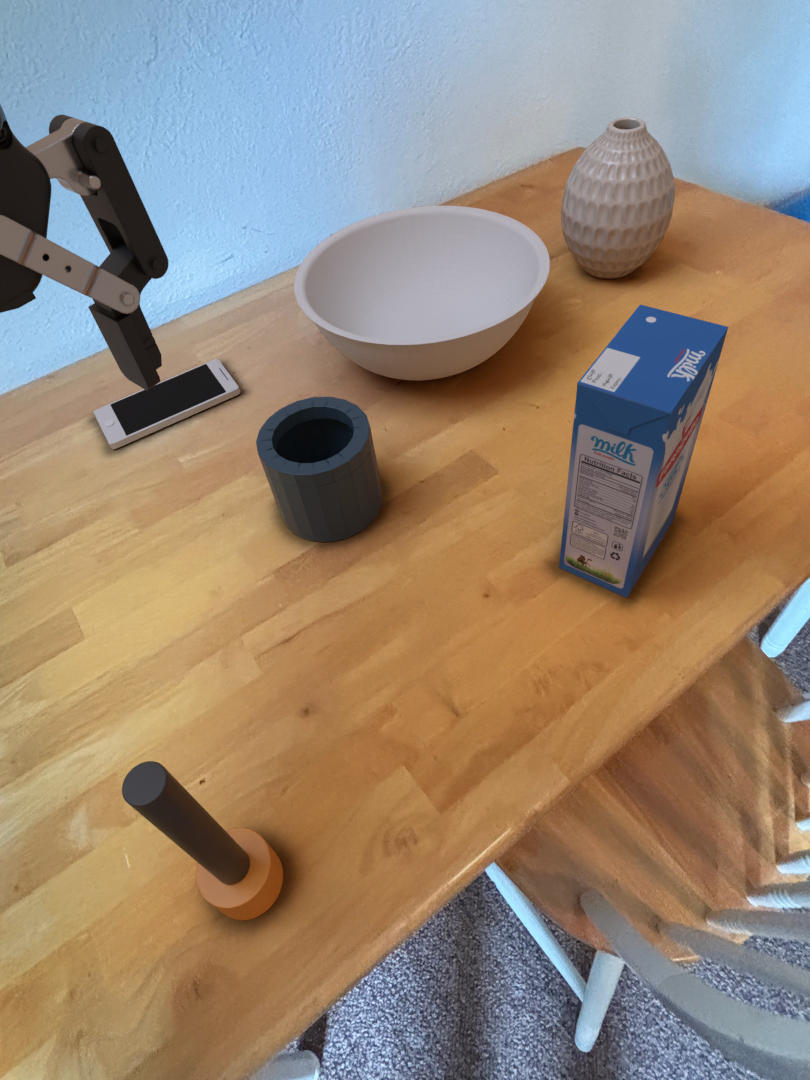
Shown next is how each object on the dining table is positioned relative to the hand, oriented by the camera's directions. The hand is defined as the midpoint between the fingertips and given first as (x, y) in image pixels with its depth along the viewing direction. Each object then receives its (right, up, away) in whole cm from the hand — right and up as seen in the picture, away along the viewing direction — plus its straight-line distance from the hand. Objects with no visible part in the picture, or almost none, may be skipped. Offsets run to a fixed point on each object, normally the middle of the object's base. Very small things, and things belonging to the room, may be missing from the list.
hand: (64, 433), depth 31 cm
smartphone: (-12, +11, +50) cm, 53 cm away
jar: (+8, -1, +38) cm, 39 cm away
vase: (+41, +30, +59) cm, 78 cm away
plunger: (+4, -28, +17) cm, 33 cm away
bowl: (+18, +18, +52) cm, 58 cm away
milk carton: (+34, -5, +31) cm, 46 cm away
